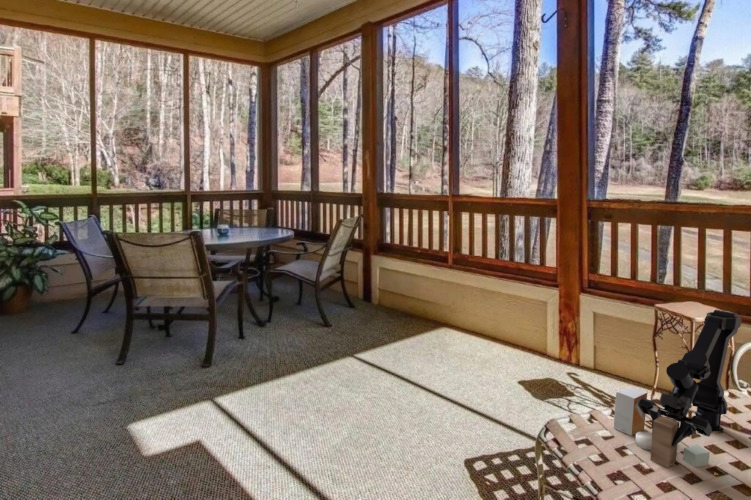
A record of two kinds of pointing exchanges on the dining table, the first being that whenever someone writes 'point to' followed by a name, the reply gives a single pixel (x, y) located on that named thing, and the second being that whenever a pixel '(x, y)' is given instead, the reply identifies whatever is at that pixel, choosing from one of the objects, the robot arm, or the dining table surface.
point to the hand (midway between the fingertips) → (662, 441)
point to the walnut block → (664, 441)
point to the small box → (629, 410)
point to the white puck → (644, 440)
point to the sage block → (696, 456)
